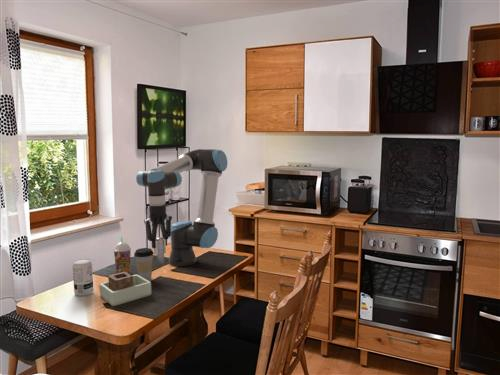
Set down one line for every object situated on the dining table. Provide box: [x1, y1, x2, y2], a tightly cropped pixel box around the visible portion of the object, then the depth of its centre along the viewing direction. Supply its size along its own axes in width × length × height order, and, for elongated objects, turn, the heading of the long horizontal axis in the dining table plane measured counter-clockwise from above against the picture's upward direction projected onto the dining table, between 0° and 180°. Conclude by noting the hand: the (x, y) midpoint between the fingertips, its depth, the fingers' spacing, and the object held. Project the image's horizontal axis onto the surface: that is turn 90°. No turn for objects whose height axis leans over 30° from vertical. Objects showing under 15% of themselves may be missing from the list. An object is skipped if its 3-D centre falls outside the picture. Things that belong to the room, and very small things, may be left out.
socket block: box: [107, 272, 133, 292], centre depth 185 cm, size 8×8×10 cm
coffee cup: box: [133, 247, 155, 281], centre depth 206 cm, size 9×9×15 cm
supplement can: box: [71, 258, 95, 297], centre depth 189 cm, size 8×8×15 cm
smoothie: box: [113, 236, 131, 274], centre depth 213 cm, size 8×8×20 cm
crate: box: [99, 273, 152, 307], centre depth 187 cm, size 18×14×6 cm
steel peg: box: [155, 236, 165, 265], centre depth 193 cm, size 4×4×12 cm
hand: (160, 253), depth 193 cm, fingers closed on steel peg, 3 cm apart
